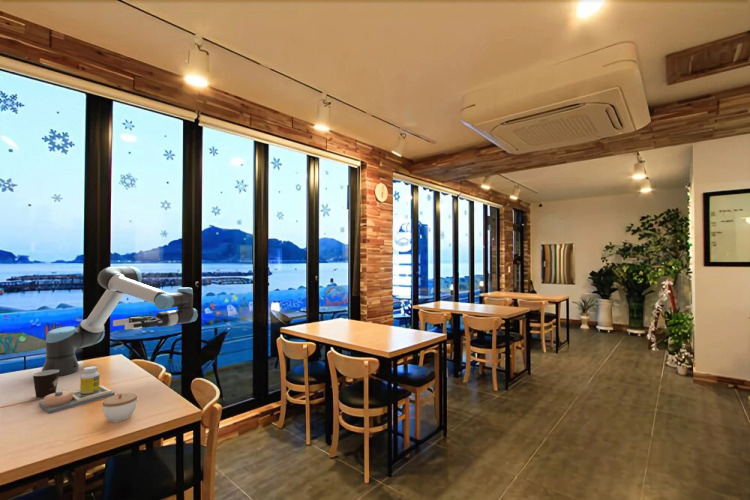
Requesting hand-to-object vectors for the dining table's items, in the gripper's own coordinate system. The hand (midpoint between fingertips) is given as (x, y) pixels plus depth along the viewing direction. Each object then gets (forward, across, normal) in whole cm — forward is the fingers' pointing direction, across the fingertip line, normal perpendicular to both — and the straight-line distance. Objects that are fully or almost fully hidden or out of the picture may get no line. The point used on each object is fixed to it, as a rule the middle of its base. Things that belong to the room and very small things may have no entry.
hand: (118, 324), depth 166 cm
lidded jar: (+12, -38, -30) cm, 50 cm away
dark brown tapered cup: (+21, +16, -30) cm, 40 cm away
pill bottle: (+12, -3, -28) cm, 31 cm away
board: (+16, -3, -30) cm, 33 cm away
